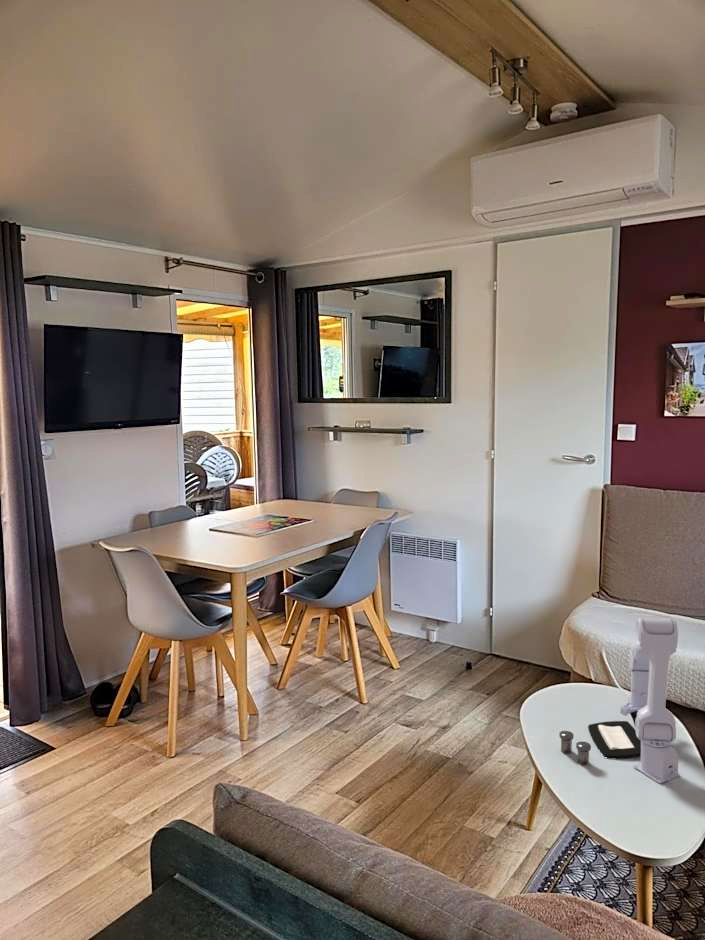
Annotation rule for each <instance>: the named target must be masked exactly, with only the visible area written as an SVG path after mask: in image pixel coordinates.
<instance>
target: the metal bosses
mask: <svg viewBox="0 0 705 940" xmlns="http://www.w3.org/2000/svg"><path fill="white" fill-rule="evenodd" d="M558 734H559V738H560V751H561V753H562V754H565V755H569V754H571V753H572V749H573V747H572V746H573V745H572V744H573V743H572V742H573V741H572V740H574V733H573V732H571V731H570V730H562V731H560V732H559V733H558ZM575 745H576V746H575V747H576V749H577V763H578V765H580V764H581V766H584V765H585V766H588V765H589V764H590V763H589V762H590V761H589V760H590V751H591V750H592V747H591V746H592V745H591V744H590V743H589V742H586V741H577V742H576V744H575ZM588 763H589V764H588ZM587 764H588V765H587Z"/></svg>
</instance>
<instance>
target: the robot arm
mask: <svg viewBox="0 0 705 940" xmlns="http://www.w3.org/2000/svg"><path fill="white" fill-rule="evenodd" d="M635 621H636V623H635V630H636V631H635V633H636V637H637V642H636V644H635V647H634V650H629V655H628V665H629V669H630V697H629V698H628V702H627V703H625V704H624V705H623V706H621V707H620V714H621V715H623V716H624V717H626V716H628V714H629V715H630V716H631V719H632V721H633V723H634V729H635V731H636V736H637V738H638V739H639V740H641V757H640V762H638V763H636V764H634V765H633V764H632V766H633V768H634V769H636V770H638V771H639V772H641V773H642V774H644V775H645V776H647V777H648V778H650V779H652V780H653V781H656V782H657V783H658V784H662V783H665V782H667V781H670V780H672V779H676V778H678V777H679V776H681V774H680V772H679V754H678V751H676V749H674V748H673V747H672V745H671V744H672V743H673V742H674V741H676V738H677V727H676V718H675V716H674V715H673V712H671V711H670V710H669V709H668V708H666V702H667V687H668V674H669V673H668V672H669V664H670V657H671V656H672V655H673V654H675V653H676V652H677V648H678V639H679V631H678V624H677V620H675V618H673V617H670V618H658V617H657V618H656V617H651V618H650V617H642V616H641V617H637V619H636V620H635Z"/></svg>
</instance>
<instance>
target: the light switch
mask: <svg viewBox="0 0 705 940" xmlns="http://www.w3.org/2000/svg"><path fill="white" fill-rule="evenodd" d="M587 728H588V732H589V734H590V737H591V739H592V741H593V743H594V745H595V747H596V746H597V747H596V748H597V749H598V751H599V750H600V751H599V752H600V754H601V753H602V754H603V755H602V754H601V755H602V756H603V757H604V758H605V757H607V758H606V759H610V758H615V759H614V760H620V759H621V760H623V759H626V760H627V759H633V758H639V757H640V758H641V740H639V739H638V738H637V736H636V731H635V727H634V726H633V725H632V724H631V723H630V722H628V720H612V721H602V722H597V723H591V724H588V726H587Z"/></svg>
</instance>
